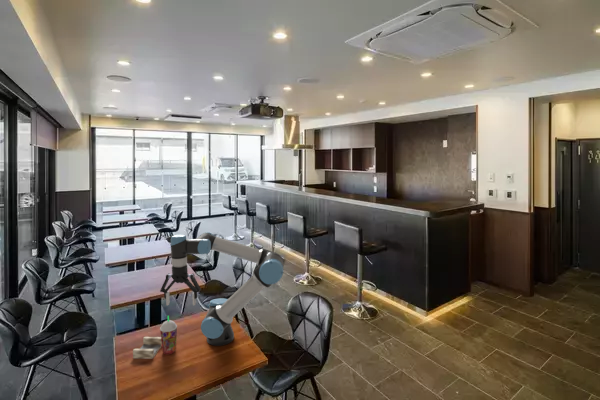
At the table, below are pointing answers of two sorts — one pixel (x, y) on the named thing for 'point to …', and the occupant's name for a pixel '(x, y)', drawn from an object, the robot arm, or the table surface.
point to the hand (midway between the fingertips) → (181, 304)
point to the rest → (148, 348)
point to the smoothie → (168, 336)
